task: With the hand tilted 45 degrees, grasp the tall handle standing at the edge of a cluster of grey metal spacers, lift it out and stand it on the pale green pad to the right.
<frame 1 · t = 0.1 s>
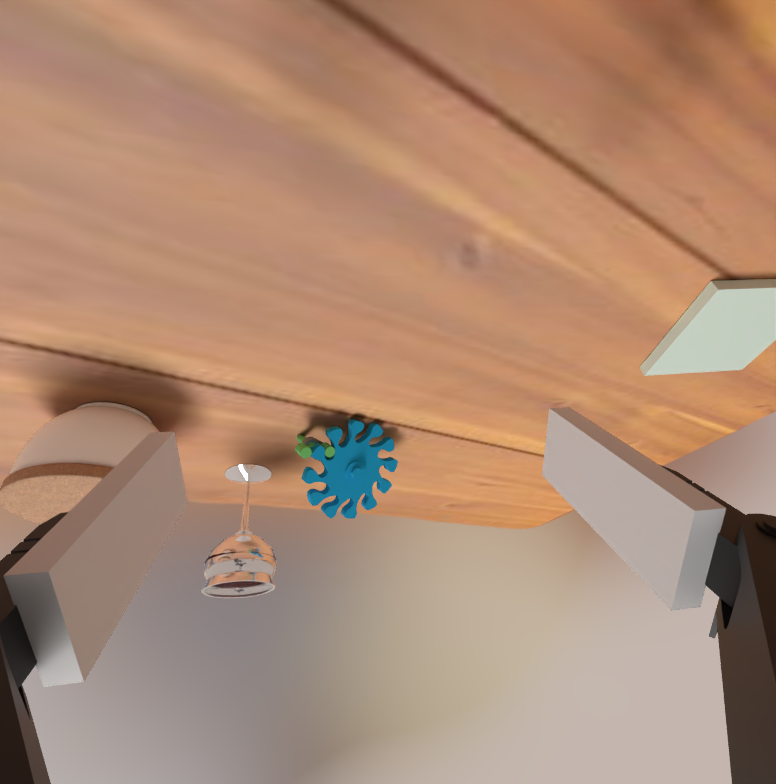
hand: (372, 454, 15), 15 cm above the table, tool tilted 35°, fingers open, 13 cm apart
wineglass: (248, 472, 48), on the table
lidded jar: (114, 419, 37), on the table
pad: (724, 326, 36), on the table
gear: (345, 432, 44), on the table
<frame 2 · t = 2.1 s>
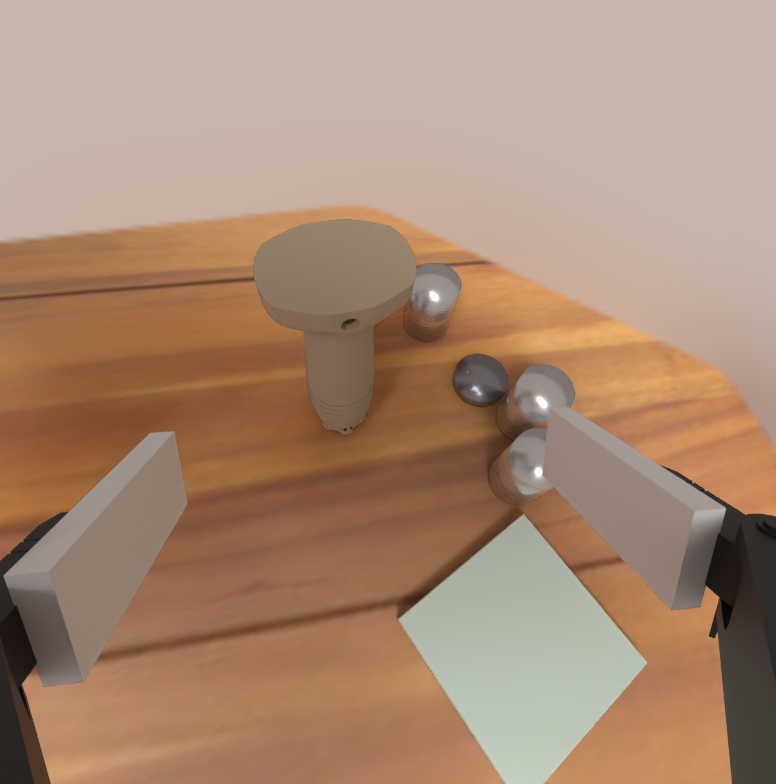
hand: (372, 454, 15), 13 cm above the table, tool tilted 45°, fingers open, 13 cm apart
handle: (342, 416, 30), on the table
disc: (477, 384, 33), on the table
pad: (516, 640, 25), on the table
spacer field: (446, 381, 32), on the table
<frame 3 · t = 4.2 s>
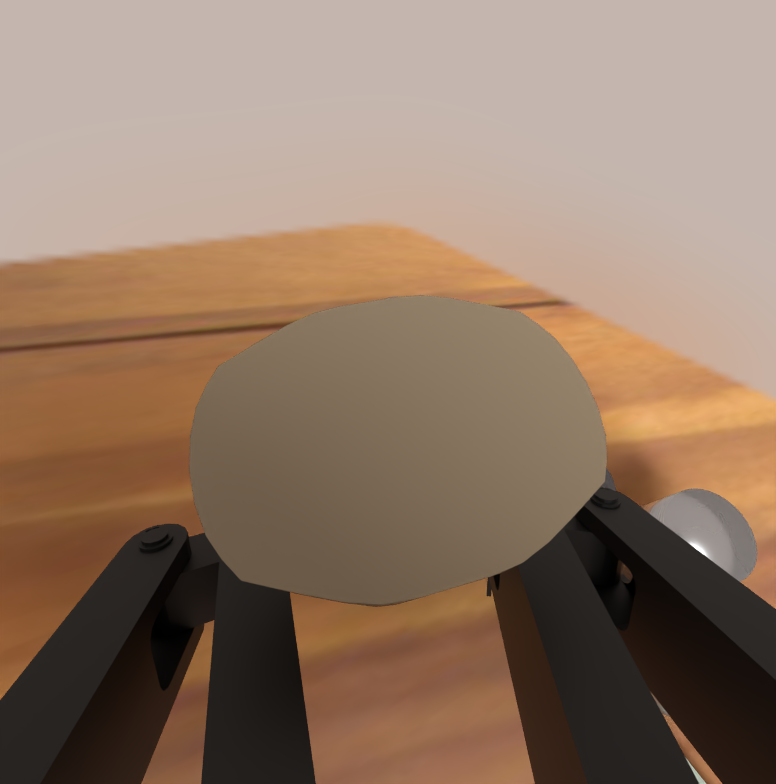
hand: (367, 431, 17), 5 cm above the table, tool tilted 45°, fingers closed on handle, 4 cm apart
handle: (369, 549, 20), on the table, touching gripper
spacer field: (520, 487, 22), on the table
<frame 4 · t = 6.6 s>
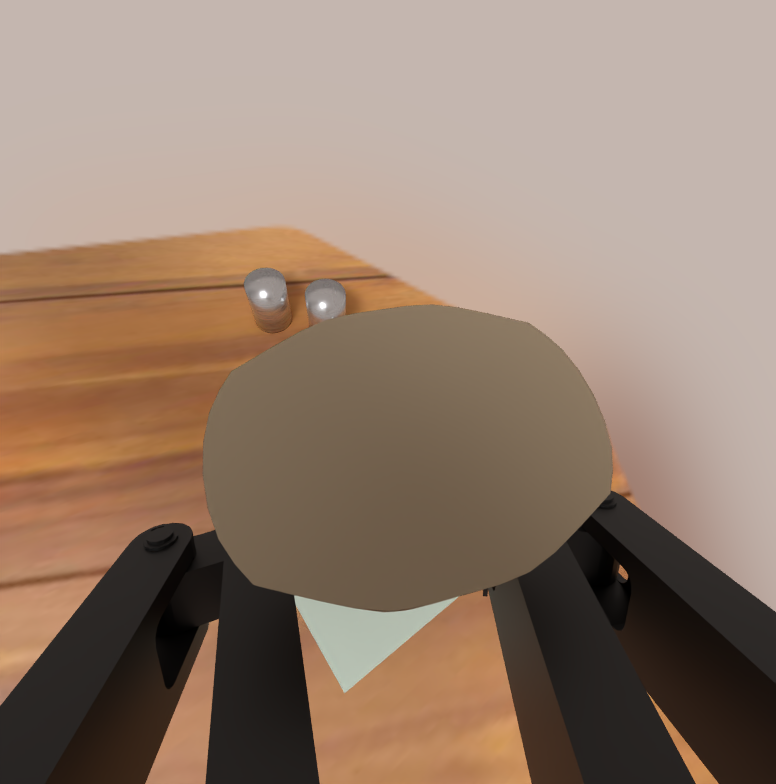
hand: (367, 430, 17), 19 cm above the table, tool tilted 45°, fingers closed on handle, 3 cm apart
handle: (368, 551, 20), point 13 cm above the table, touching gripper
pad: (365, 576, 32), on the table
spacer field: (338, 375, 39), on the table
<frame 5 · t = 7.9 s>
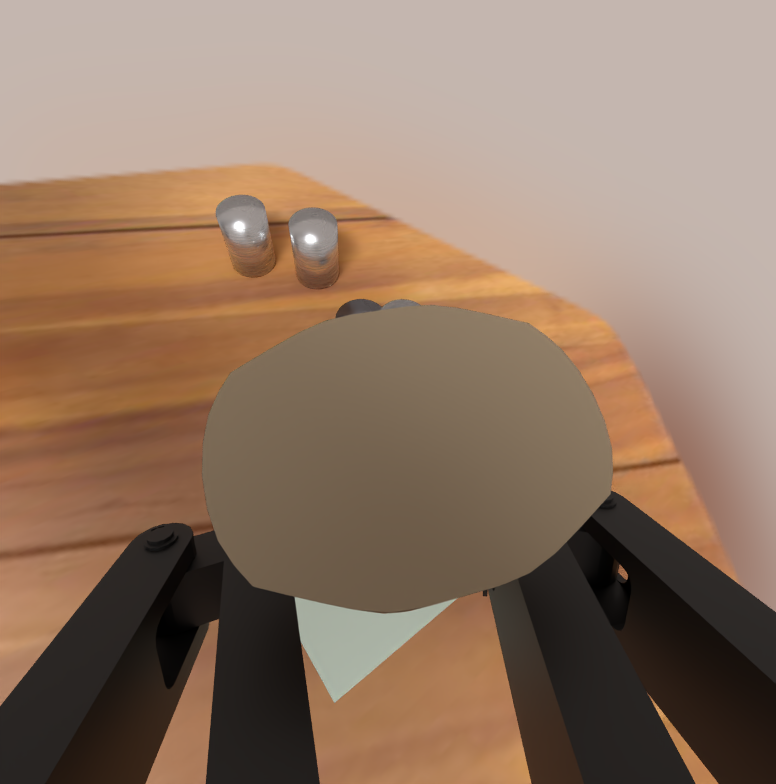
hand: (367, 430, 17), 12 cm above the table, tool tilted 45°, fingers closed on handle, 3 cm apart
handle: (368, 551, 20), point 6 cm above the table, touching gripper
disc: (361, 329, 34), on the table
pad: (360, 557, 26), on the table
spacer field: (329, 324, 33), on the table
when the fingers open (8 cm above the table, at t = 8.8 s): handle drops 1 cm, resting on pad.
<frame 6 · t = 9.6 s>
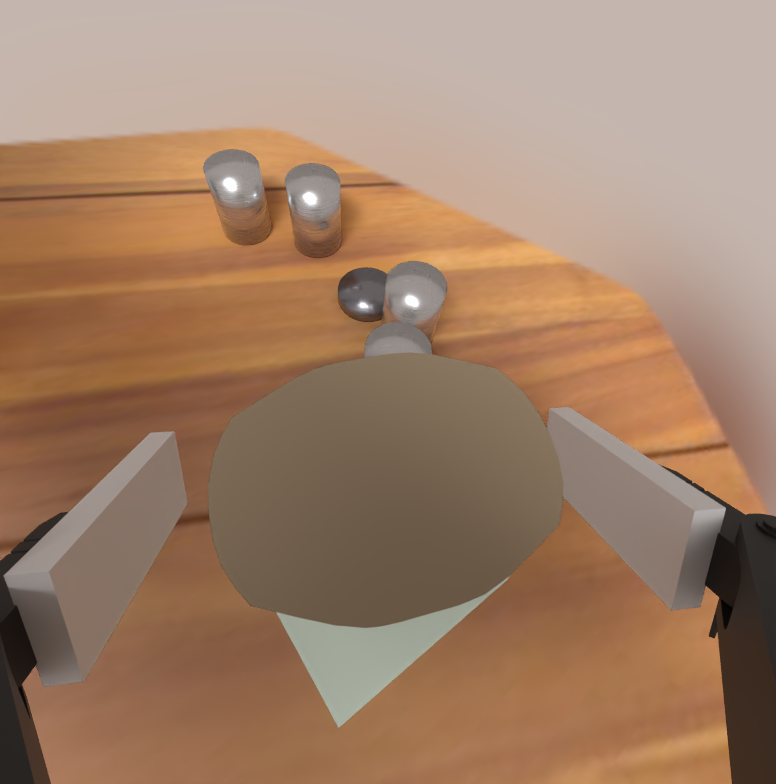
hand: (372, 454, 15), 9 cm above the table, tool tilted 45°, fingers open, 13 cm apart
handle: (366, 556, 21), point 1 cm above the table, touching pad
disc: (366, 301, 30), on the table
pad: (368, 554, 22), on the table
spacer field: (331, 295, 30), on the table
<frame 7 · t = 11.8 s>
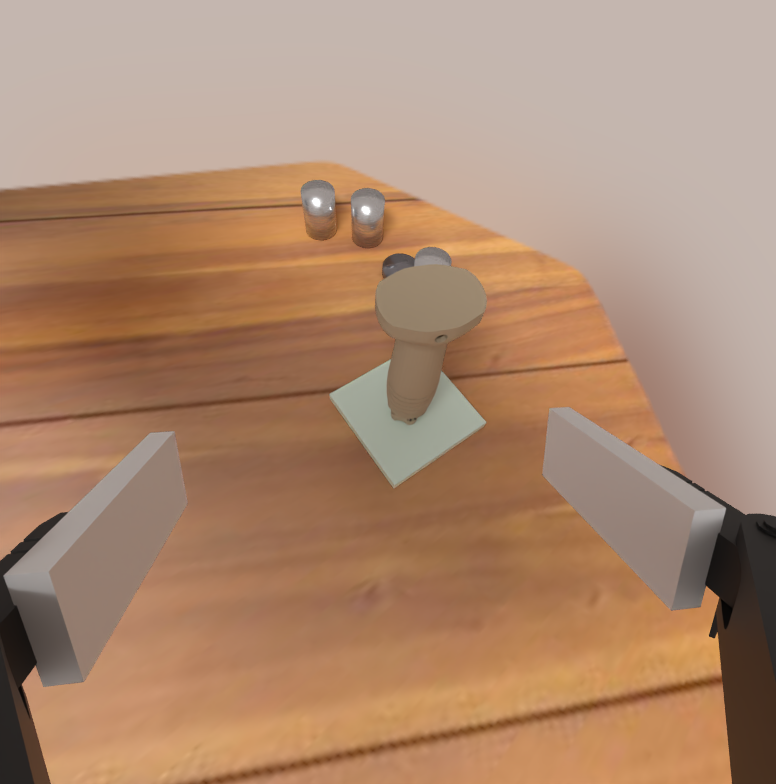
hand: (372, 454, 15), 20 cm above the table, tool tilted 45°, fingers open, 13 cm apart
handle: (405, 410, 38), point 1 cm above the table, touching pad
disc: (400, 275, 47), on the table
pad: (406, 412, 39), on the table
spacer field: (377, 271, 46), on the table
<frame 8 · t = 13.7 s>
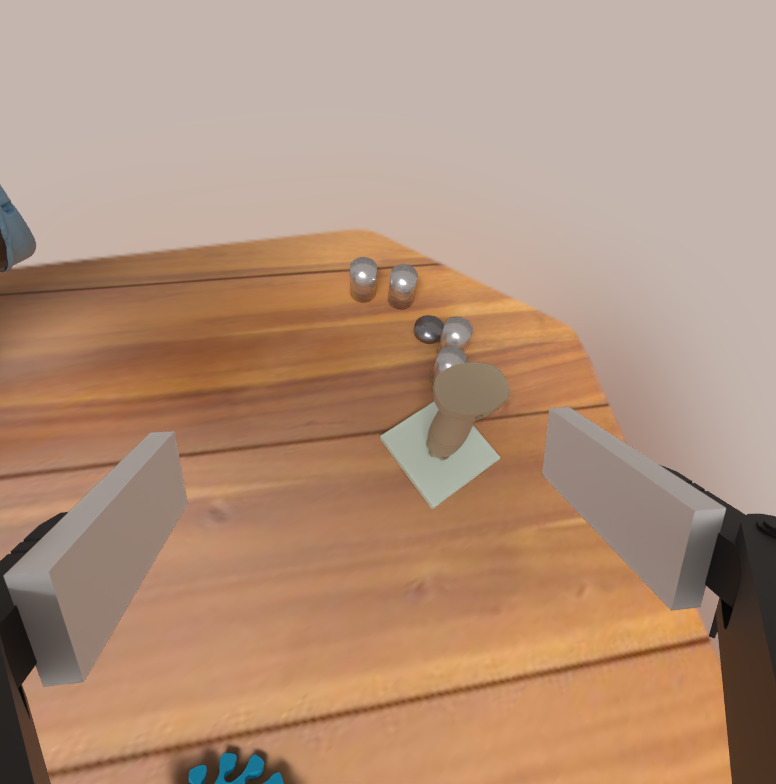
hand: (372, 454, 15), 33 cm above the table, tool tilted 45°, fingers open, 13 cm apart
handle: (439, 448, 49), point 1 cm above the table, touching pad
disc: (428, 332, 58), on the table
pad: (438, 449, 50), on the table
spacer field: (410, 330, 58), on the table
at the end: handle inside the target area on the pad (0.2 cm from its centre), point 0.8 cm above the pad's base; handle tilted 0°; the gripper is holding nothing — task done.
